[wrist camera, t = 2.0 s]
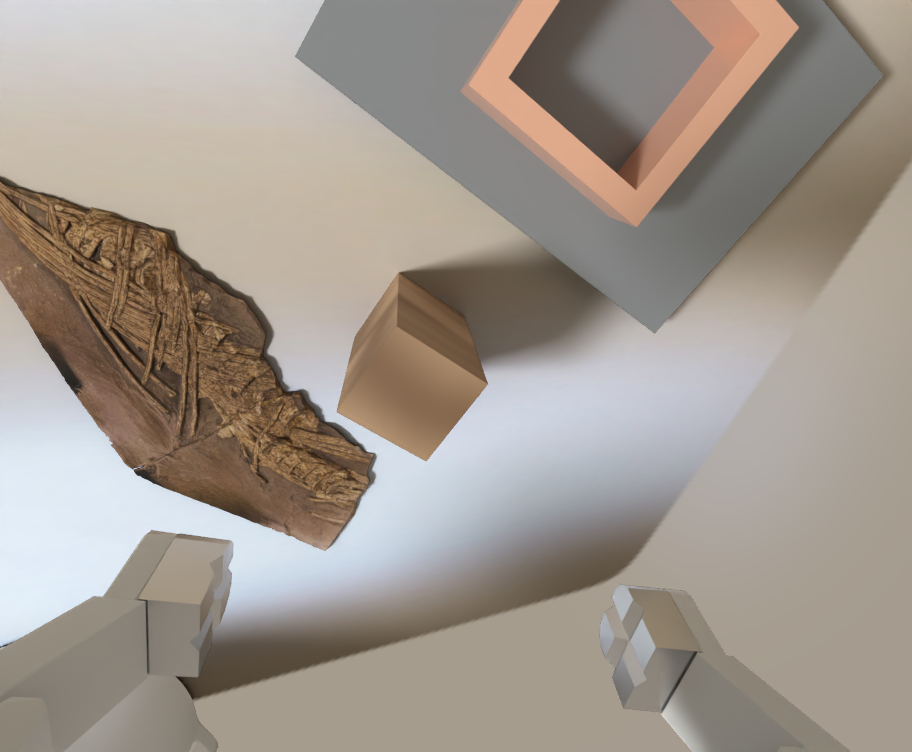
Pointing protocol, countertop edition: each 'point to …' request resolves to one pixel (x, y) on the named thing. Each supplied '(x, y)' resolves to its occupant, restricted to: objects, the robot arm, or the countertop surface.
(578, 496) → the countertop surface
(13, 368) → the countertop surface
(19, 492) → the countertop surface
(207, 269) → the countertop surface
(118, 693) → the robot arm
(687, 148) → the stand
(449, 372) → the brown wooden block
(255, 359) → the wooden fragment
